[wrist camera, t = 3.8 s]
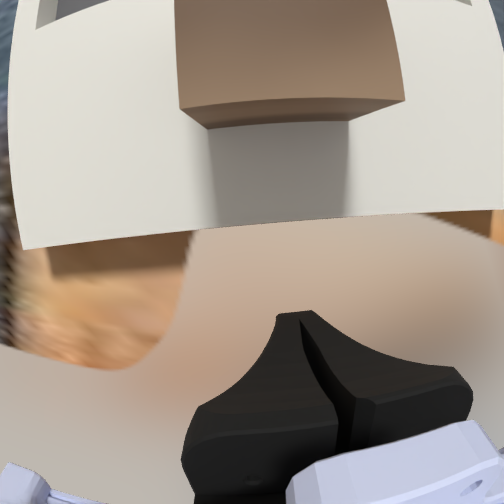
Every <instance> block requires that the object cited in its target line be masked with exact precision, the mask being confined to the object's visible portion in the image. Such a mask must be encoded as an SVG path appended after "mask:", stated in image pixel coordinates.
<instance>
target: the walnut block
mask: <svg viewBox="0 0 504 504" xmlns="http://www.w3.org/2000/svg"><path fill="white" fill-rule="evenodd" d="M174 19H175V45H176V65H177V81H178V96H179V109H180V110H181V111H183V112H184V113H185V114H187V115H188V116H190V117H191V118H192V119H194V120H195V121H196V122H198V123H199V124H200V125H202V126H203V127H204V128H206V129H207V130H208V129H216V128H225V127H235V126H246V125H258V124H272V123H289V122H315V121H351V120H353V119H356V118H358V117H361V116H364V115H367V114H369V113H372V112H375V111H378V110H380V109H383V108H386V107H389V106H392V105H395V104H398V103H401V102H404V101H405V93H404V85H403V78H402V72H401V66H400V60H399V54H398V49H397V44H396V39H395V34H394V29H393V25H392V20H391V16H390V12H389V8H388V4H387V0H174Z"/></svg>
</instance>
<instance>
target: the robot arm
mask: <svg viewBox="0 0 504 504" xmlns="http://www.w3.org/2000/svg"><path fill="white" fill-rule="evenodd" d="M472 402H473V391H472V389H471V387H470V386H469V384H468V383H467V382H466V381H465V380H464V378H463V377H462V376H461V375H460V374H459V373H458V371H457V370H456V369H455V368H454V367H448V366H437V365H427V364H421V363H415V362H410V361H406V360H402V359H398V358H395V357H392V356H389V355H386V354H383V353H380V352H378V351H375V350H373V349H371V348H368V347H366V346H364V345H362V344H360V343H358V342H356V341H355V340H353V339H351V338H350V337H348V336H346V335H345V334H343V333H342V332H340V331H339V330H337V329H336V328H334V327H333V326H331V325H330V324H329V323H328V322H326V321H325V320H324V319H322V318H321V317H320V316H319V315H317V314H316V313H315V312H313V311H312V310H309V311H300V312H291V313H281V314H278V315H277V316H276V323H275V327H274V330H273V332H272V334H271V337H270V339H269V341H268V343H267V345H266V347H265V348H264V350H263V352H262V354H261V355H260V357H259V358H258V360H257V361H256V362H255V363H254V365H253V366H252V367H251V368H250V370H249V371H248V372H247V373H246V374H245V375H244V376H243V377H242V378H241V379H240V380H239V381H238V382H237V383H235V384H234V385H233V386H232V387H230V388H229V389H228V390H226V391H225V392H224V393H222V394H220V395H219V396H217V397H215V398H213V399H212V400H210V401H208V402H206V403H205V404H202V405H200V406H199V407H198V408H197V410H196V412H195V414H194V416H193V418H192V420H191V423H190V426H189V428H188V430H187V434H186V437H185V441H184V446H183V451H182V456H181V462H182V467H183V470H184V472H185V474H186V476H187V478H188V480H189V483H190V485H191V487H192V489H193V491H194V493H195V499H194V504H504V448H502V449H500V450H498V449H497V448H496V446H495V445H494V443H493V442H492V441H491V439H490V438H489V436H488V435H487V434H486V432H485V431H484V429H483V428H482V427H481V426H480V425H479V424H478V423H477V422H476V421H474V420H467V421H466V419H467V417H468V414H469V412H470V409H471V406H472ZM0 504H107V503H102V502H98V501H93V500H89V499H85V498H82V497H78V496H74V495H71V494H67V493H64V492H60V491H57V490H54V489H51V488H50V486H49V485H48V483H47V482H46V481H45V479H43V478H42V477H41V476H40V475H39V474H37V473H36V472H34V471H32V470H30V469H27V468H24V467H21V466H19V465H16V464H14V463H11V462H8V464H7V465H6V467H5V468H4V470H3V472H2V473H1V475H0Z"/></svg>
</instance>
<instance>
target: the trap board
mask: <svg viewBox="0 0 504 504" xmlns="http://www.w3.org/2000/svg"><path fill="white" fill-rule="evenodd" d="M387 4H388V8H389V12H390V16H391V20H392V25H393V29H394V34H395V39H396V44H397V49H398V54H399V60H400V66H401V72H402V78H403V85H404V93H405V101H404V102H401V103H398V104H395V105H392V106H389V107H386V108H383V109H380V110H378V111H375V112H372V113H369V114H367V115H364V116H361V117H358V118H356V119H353V120H351V121H315V122H289V123H272V124H258V125H246V126H235V127H225V128H216V129H208V130H207V129H206V128H204V127H203V126H202V125H200V124H199V123H198V122H196V121H195V120H194V119H192V118H191V117H190V116H188V115H187V114H185V113H184V112H183V111H181V110H180V109H179V96H178V81H177V65H176V45H175V19H174V0H19V3H18V8H17V13H16V19H15V25H14V32H13V39H12V47H11V56H10V68H9V83H8V141H9V157H10V169H11V179H12V188H13V195H14V203H15V209H16V215H17V221H18V227H19V232H20V237H21V242H22V247H23V250H27V249H35V248H42V247H50V246H57V245H65V244H73V243H81V242H89V241H98V240H106V239H115V238H123V237H132V236H141V235H150V234H160V233H169V232H179V231H189V230H199V229H209V228H220V227H230V226H242V225H253V224H265V223H277V222H289V221H302V220H315V219H328V218H342V217H356V216H373V215H389V214H405V213H406V214H407V213H426V212H446V211H470V210H497V209H504V52H503V47H502V43H501V40H500V36H499V32H498V29H497V25H496V22H495V19H494V15H493V12H492V9H491V6H490V3H489V0H387Z"/></svg>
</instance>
